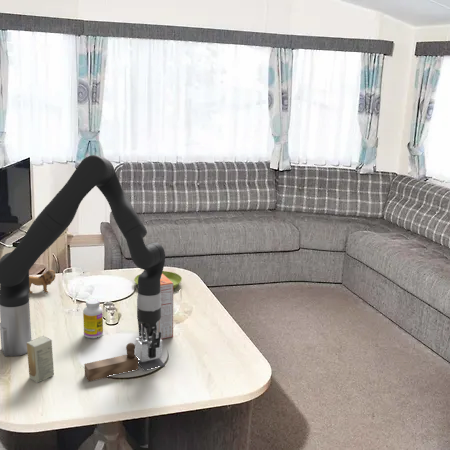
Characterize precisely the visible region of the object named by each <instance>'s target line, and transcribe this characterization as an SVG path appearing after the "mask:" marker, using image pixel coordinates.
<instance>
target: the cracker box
mask: <svg viewBox="0 0 450 450" xmlns="http://www.w3.org/2000/svg"><path fill="white" fill-rule="evenodd" d="M160 294H161V319H160V320H159V321H158V322H157V323H156V325H157V332H161V340H163V339H164V340H165V339H169V338H174V289H173V282H171V281H170V280H169V279H168V278H167V277H166V276H165V275H164V274H162V275H161V279H160Z"/></svg>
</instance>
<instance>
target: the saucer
mask: <svg viewBox="0 0 450 450" xmlns="http://www.w3.org/2000/svg"><path fill="white" fill-rule="evenodd" d="M140 274H141V273H140ZM140 274H138V275H136V276H135V277H134V279H133V281H134V284H135V285H137V286H138V277H139V275H140ZM162 274H164V275H165V276H166V277H167V278H168V279H169V280H170V281H171V282H173V290H175V289H176V288H177V287H179V285H180V284H181V282H182V280H183V278H182V276H181V275H180V274H179V273H175V272H173V271H167V270H163V272H162Z"/></svg>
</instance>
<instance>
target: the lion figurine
mask: <svg viewBox="0 0 450 450" xmlns="http://www.w3.org/2000/svg"><path fill="white" fill-rule="evenodd" d="M55 279H56V271H55V270H53V269H48V270H47V271H46V272H44V273H42V274H41V275H40V276H34V275H32V276H31V275H29V285H30V288H31V287H32V285H34V286H42V287H43V288H42V290H43V291H44V293H45V292H47V293H48V292H49V291H48V288H47V287H48V286H50V285H51V284H52V283H53V282H54V281H55ZM29 294H33V291H31V289H30V290H29Z"/></svg>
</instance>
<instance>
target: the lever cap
mask: <svg viewBox="0 0 450 450" xmlns="http://www.w3.org/2000/svg"><path fill="white" fill-rule="evenodd" d="M149 338H152V336H151V337H149ZM135 355H136V356H137V357H138V358H139V359H140V361H141V362H145V361H149V360H153V359H158V358H159V359H161V358H163V339H160V346H159V348H156V357H155V358H151V359H150V358H149V344H148V341H147V340H146V337H141V336H140V337H136V338H135Z"/></svg>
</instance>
